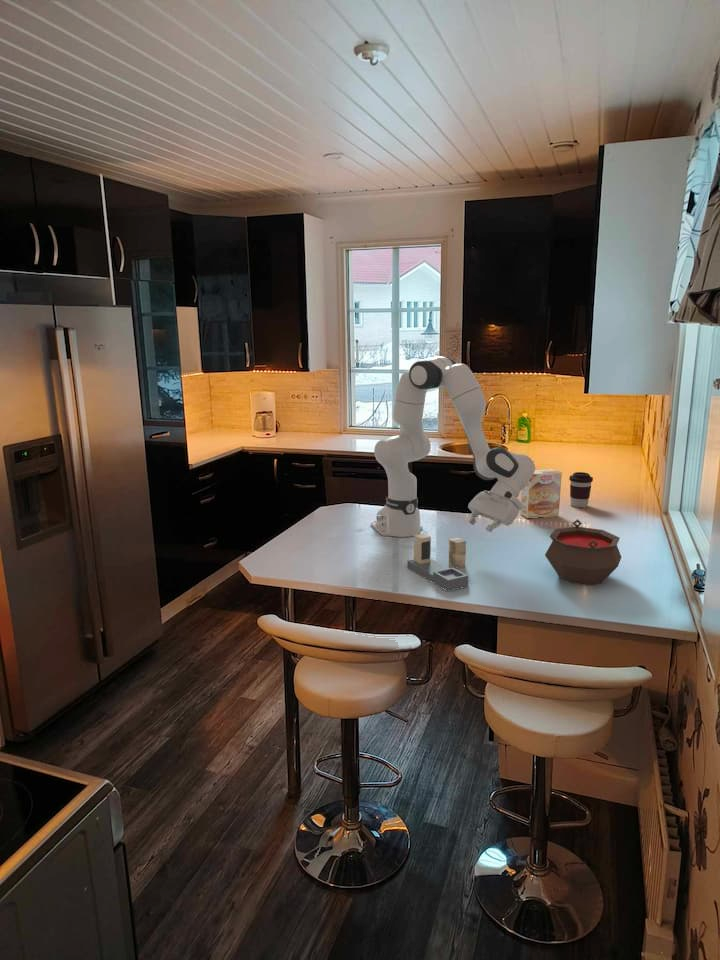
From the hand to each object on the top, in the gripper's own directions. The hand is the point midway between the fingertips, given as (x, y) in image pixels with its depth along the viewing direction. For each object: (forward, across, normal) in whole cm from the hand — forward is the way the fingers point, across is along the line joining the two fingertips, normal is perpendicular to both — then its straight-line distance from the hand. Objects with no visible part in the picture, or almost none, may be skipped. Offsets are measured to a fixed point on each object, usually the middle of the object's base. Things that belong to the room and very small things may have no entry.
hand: (479, 527), depth 219 cm
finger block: (+15, 0, +2) cm, 15 cm away
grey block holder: (+24, +5, -6) cm, 25 cm away
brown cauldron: (-5, +28, +23) cm, 37 cm away
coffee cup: (-50, -32, +68) cm, 90 cm away
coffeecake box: (-32, -30, +49) cm, 66 cm away
